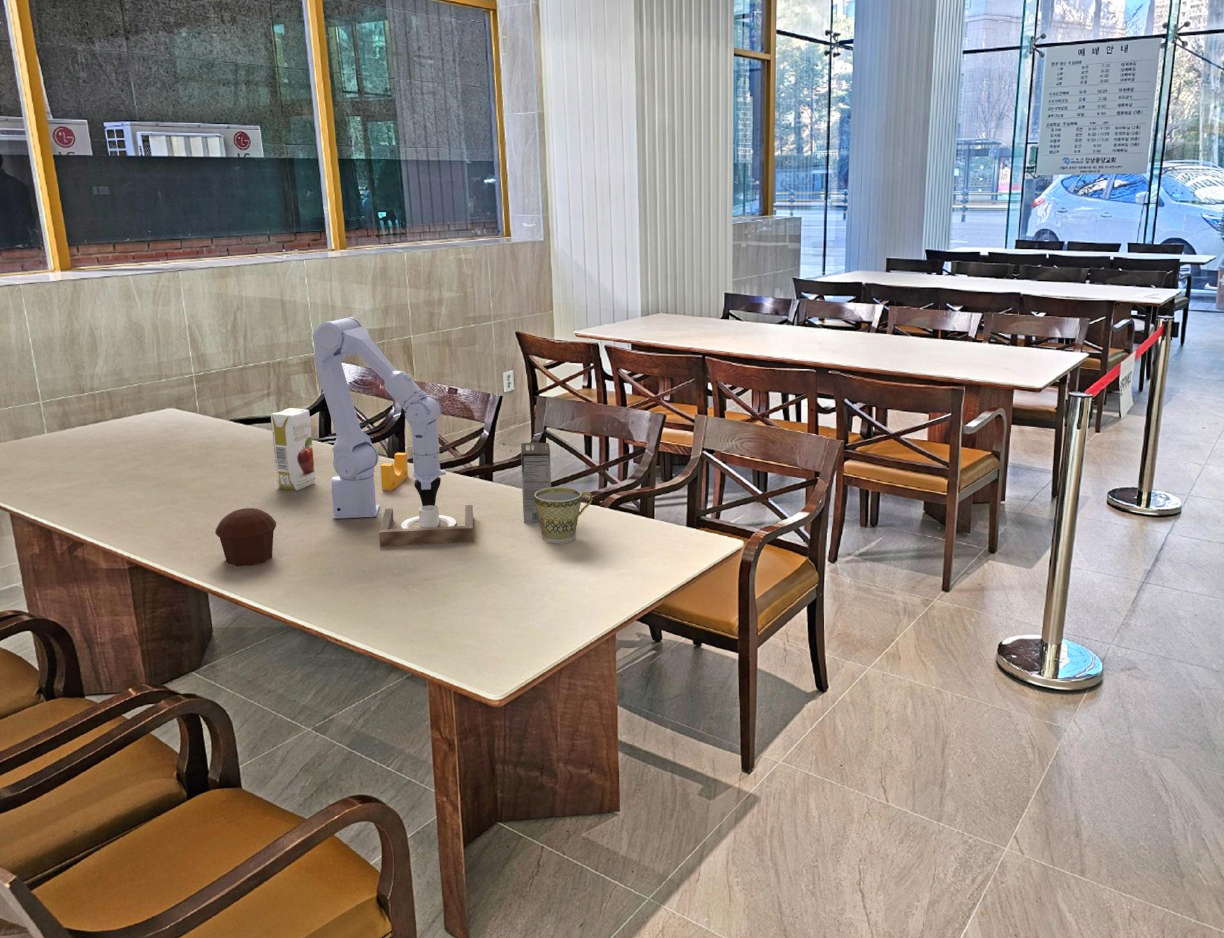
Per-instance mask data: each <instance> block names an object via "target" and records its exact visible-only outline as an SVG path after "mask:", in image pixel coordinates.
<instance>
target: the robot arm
mask: <svg viewBox="0 0 1224 938" xmlns="http://www.w3.org/2000/svg"><path fill="white" fill-rule="evenodd" d="M312 338H313V342H314V346H315V347H314V355H313V356H314V357H313V361H314V365H315V368H316V369H315V370H316V372H317V375H318V378H319V382H320V385H321V388H322V392H323V396H324V399H325V402H326V405H327V408H328V412H329V415H330V419H331V422H332V426H333V429H334V432H335V435H336V439H335V442H334V443H333V446H332V448H331V449H332V450H331V451H332V453H333V463H332V464H333V468H334V471H335V472H336V474H337V475H336V476H332V478H331V499H332V509H333V510H332V511H333V512H332V513H333V519H354V518H357V519H358V518H375V517H377V516H378V513H379V509H380V504H378V503H377V502H376V488H375V476H374V475H375V473H374V472H375V467H376V466H377V465H378V462H379V458H380V457H379V452H378V450H377V448H376V447H375V445H373V443H372V440H371V437H370V436H369V435H368V434H367V433H365V432H364V431H362V428H361V425H360V422H359V418H358V414H357V411H356V409H355V405H354V402H353V398H352V394H351V390H350V388H349V384H348V381H347V378H346V375H345V371H344V367H343V362H344V359H345V358H346V356H347V355H352V356H353V355H354V356H358V357H359V358H360V359H361V360H362V361H363V362H364V363H365V364H366V365H368V367H370V368H371V369H372V370H373V371H374V372H375V373H376V374H377V375H378V376H379V377H380V378H381V379H382V380H383V381H384V390H385V391H386V392H387V393H388V394H389V395H390V397H391V398H392V399H393V400H394V401H395V402H396V403H397V404H398V405H399V406H400V407H401V408H402V410H404V411H405V413H404V417H405V420H406V422H407V423H408V424H409V427H410V432H411V445H412V463H413V471H412V476H413V478H414V479H415V480H414V486H413V487H414V488H415V489H416V491H417V493H418V495H419V497H420V502H421V505H422V506H427V505H433V506H436V500H437V499H436V498H437V493H438V491H439V488H440V486H441V482H442V480H441V476H446V470H445V469H441V461H440V460H441V459H440V446H439V445H440V442H439V441H440V440H439V425H438V419H440V417H441V416H442V414H443V413H442V405H441V403H440V401H439V400H438V398H437V397H436V396H434V395H431V394H429V395H428V394H427V392H426V391H424V390H422V389H421V388H420V386H419V385H418V384H417V383H416V382H415V381H414V380H413V376H412V375H411V373H406V371H404V370H397V369H396V368H395V367H394V365H393V364H392V363H391V361H389V359H388V358H387V357H386V356H385V354H384V353H383V352H382V351H381V350H380V348H379V347H378V346H377V345H376V343H375V342H374V341H373V340H372V338H371V337H370V334H369V331H368V329H367V328H365V327H364V326H363V325H362V323H361V322H360V321H359V320H358V319H357V318H355V317H352V316H346V317H344V318H341V319H336V320H331V321H324V322H321V323H320V324H319V325H318V327H317V328H316V330H315V331H314V333H313V335H312ZM376 503H377V504H376ZM422 506H421V507H422Z"/></svg>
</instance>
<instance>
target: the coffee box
mask: <svg viewBox="0 0 1224 938" xmlns="http://www.w3.org/2000/svg"><path fill="white" fill-rule="evenodd" d="M520 446H521V447H520V450H521V451H520V452H521V454H520V455H521V459H520V460H521V487H522V488H521V491H522V511H523V512H522V513H523V523H539V518H538V513H537V510H536V505H535V499H534V494H535V492H537V491H538V490H541V489H545V488H550V487H552V473H551V472H552V471H551V470H552V469H551V448H550V443H549V442H521V444H520Z"/></svg>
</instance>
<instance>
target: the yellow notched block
mask: <svg viewBox="0 0 1224 938" xmlns="http://www.w3.org/2000/svg"><path fill="white" fill-rule="evenodd" d="M393 457H394V461H393V463H390V462H389V463H387V462H386V463H385V462H384V463H382V464H380V466H379V467H380V479H381V480H380V481H381V490H382V491H394V490H395V488H397V486H399V485H400V484H401V483H403V482H404V481H405V480H406V479H407V478H408V477H409V470H408V469H409V468H408V467H409V466H408V453H407V452H396V453H395V454H394V456H393Z"/></svg>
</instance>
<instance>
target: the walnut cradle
mask: <svg viewBox="0 0 1224 938" xmlns="http://www.w3.org/2000/svg"><path fill="white" fill-rule="evenodd" d="M464 508H465V510H464V511H465V512H464V513H465V514H464V525H454V526H449V527H447V526H437V527H427V528H422V527H409V528H406V529H402V528H393V525H394V520H395V519H394V508H385V509H384V512H383V515H382V516H383V517H382V520H381V523H380V527H379V532H378V535H379V536H378V538H379V546H380V547H382V546H383V547H386V546H405V545H406V546H407V545H422V544H423V545H424V544H425V545H427V544H443V543H444V544H446V543H467V542H469V543H470V542H474V507H473V504H465V507H464Z"/></svg>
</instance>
